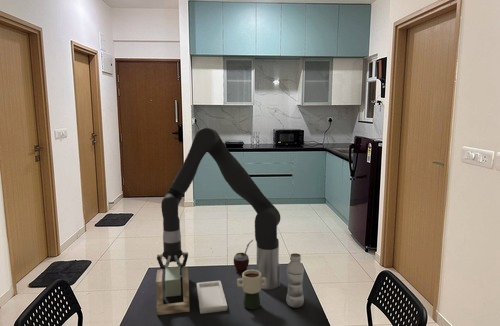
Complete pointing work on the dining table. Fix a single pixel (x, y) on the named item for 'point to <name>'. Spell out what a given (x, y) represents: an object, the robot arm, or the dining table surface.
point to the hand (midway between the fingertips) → (173, 276)
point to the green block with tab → (172, 281)
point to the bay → (173, 306)
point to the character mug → (251, 288)
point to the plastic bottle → (295, 281)
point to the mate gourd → (241, 261)
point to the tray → (211, 297)
